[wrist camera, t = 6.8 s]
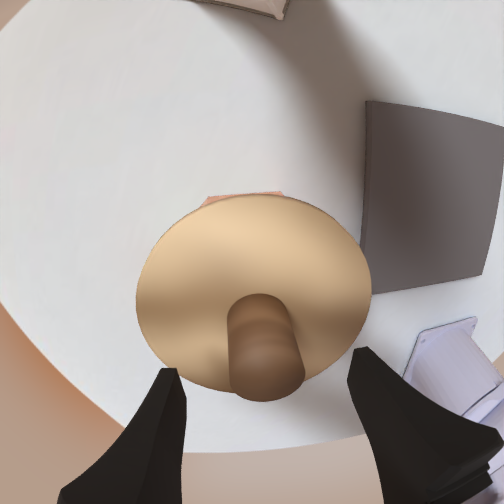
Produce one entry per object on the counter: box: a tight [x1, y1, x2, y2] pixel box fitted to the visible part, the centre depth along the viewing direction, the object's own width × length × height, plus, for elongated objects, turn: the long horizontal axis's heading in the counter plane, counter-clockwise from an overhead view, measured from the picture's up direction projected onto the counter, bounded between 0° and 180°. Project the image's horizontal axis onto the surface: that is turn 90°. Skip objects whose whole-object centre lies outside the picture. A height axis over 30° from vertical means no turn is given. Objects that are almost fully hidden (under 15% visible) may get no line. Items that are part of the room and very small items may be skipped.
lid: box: [136, 194, 371, 402], centre depth 13 cm, size 12×12×5 cm
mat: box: [360, 101, 504, 295], centre depth 18 cm, size 13×13×1 cm
